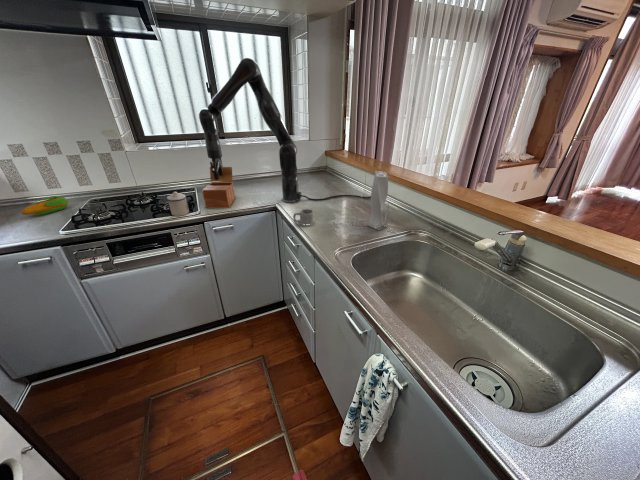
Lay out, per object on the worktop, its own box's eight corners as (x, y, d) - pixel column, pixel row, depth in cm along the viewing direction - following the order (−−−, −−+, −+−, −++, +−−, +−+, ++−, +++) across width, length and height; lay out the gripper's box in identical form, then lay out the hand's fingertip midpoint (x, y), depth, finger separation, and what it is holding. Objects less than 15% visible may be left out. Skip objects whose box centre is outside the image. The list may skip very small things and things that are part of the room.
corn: (67, 193, 145) (20, 206, 129) (74, 206, 149) (29, 220, 133) (60, 192, 148) (12, 204, 132) (67, 205, 151) (21, 219, 135)
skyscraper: (375, 231, 126) (383, 173, 113) (363, 225, 132) (369, 169, 119) (387, 227, 131) (396, 170, 117) (375, 221, 136) (382, 166, 123)
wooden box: (213, 197, 165) (210, 181, 160) (235, 197, 166) (232, 180, 161) (205, 207, 150) (201, 190, 145) (229, 207, 151) (226, 190, 146)
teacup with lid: (192, 212, 144) (187, 192, 138) (175, 217, 138) (169, 196, 132) (183, 206, 151) (178, 187, 145) (166, 211, 145) (160, 190, 139)
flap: (210, 181, 160) (210, 181, 160) (232, 181, 161) (232, 181, 161) (209, 167, 158) (209, 167, 159) (231, 166, 159) (231, 166, 160)
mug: (313, 221, 136) (313, 208, 133) (313, 226, 130) (313, 214, 127) (294, 220, 136) (293, 208, 133) (293, 226, 130) (292, 214, 127)
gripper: (217, 151, 141) (222, 181, 149) (223, 146, 153) (228, 174, 161) (202, 151, 140) (208, 181, 148) (210, 146, 153) (215, 174, 161)
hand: (218, 177), depth 155 cm, fingers open, 8 cm apart
